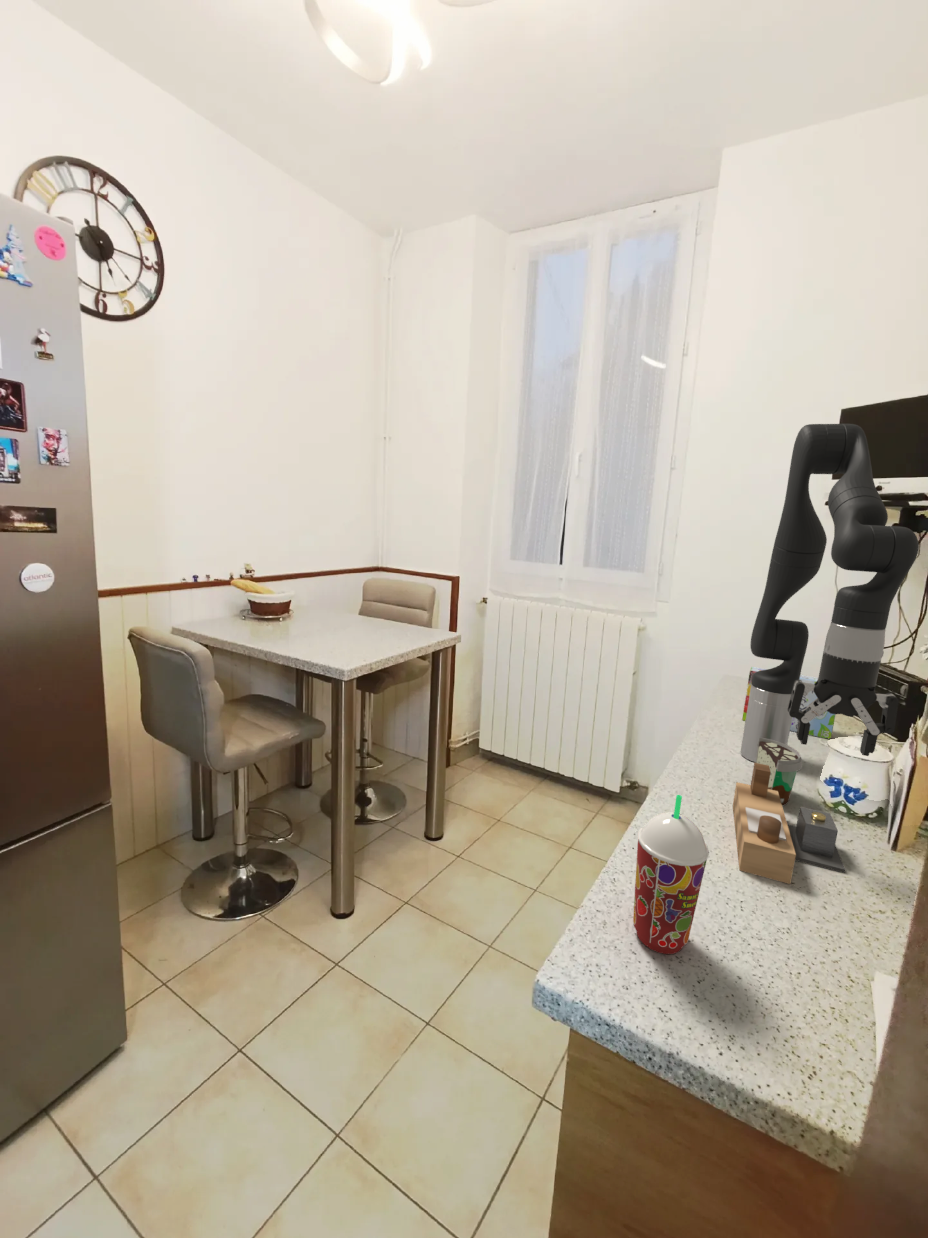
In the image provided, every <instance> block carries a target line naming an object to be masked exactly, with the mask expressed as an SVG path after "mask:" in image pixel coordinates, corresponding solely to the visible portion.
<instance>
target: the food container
mask: <svg viewBox="0 0 928 1238" xmlns="http://www.w3.org/2000/svg"><path fill="white" fill-rule="evenodd" d="M757 746H758V750H757V758H756V762H755V763H759V764H764V765H769V768H770V771H771V773H770V779H769V785H768V789H771V790H775V791H778V793H779V797H780V800H781V804H782V807H784V806H786V805H787V804H788V803H789V801H790V797H791V793H792V790H793V786H794V784H795V779H796V776H797V772H798V771H801V770H802V768H803V760H802V757H801V756H802V755H801V754H800V752H799V751H798V750H797V749H795V748H794V747H792V746H790V745H788V744H787V745H786V744H783V743H781V742H778V741H774V740H770V739H765V738H759V740H758V743H757Z"/></svg>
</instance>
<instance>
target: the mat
mask: <svg viewBox="0 0 928 1238" xmlns="http://www.w3.org/2000/svg"><path fill="white" fill-rule="evenodd" d="M787 825H788V829H789V832H790V836H791V839H792V843H793V846H794V850H795V853H796V857H795V861H796V862H800V863H805V864H808V865H813V866H816V867H818V868H819V867H820V868H822V869H823V868H824V869H827V870H831V871H836V872H838V873H843V874H845V873H846V867H845V865H844V863H843V860H842V858H841V855H840V853H839V851H838V849H837V848H838V847H837V846H836V845H835V848H834V852H833V857H832V858H828V857H824V856H820V855H816V854H812V853H808V852H804V851H801V850H800V847H799V844H798V840H797V837H796V834H795V830H796V825H793V824H790V823H789V824H788V823H787Z"/></svg>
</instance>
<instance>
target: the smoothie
mask: <svg viewBox="0 0 928 1238" xmlns="http://www.w3.org/2000/svg"><path fill="white" fill-rule="evenodd" d="M682 798H683V795H680V794H676V797H675V804H674V811H666V812H660V813H658V814H655V815H654V816H652V817H650V818H649V819H648V820H647V821H646V822H645V824H644V826H642V827H640V828H639V830H638V832H637V850H636V864H635V865H636V868H635V885H634V901H633V918H632V922H633V926H634V929H635V931H636V936H637V937H638V939H639V941H640V942H641V943H642V944H643V945H645V947H647V948H648V949H650V950H652V951H654V952H657V953H659V954H662V955H663V954H664V955H673V954H676V953H677V954H678V953H679V952H680V951H681V950H682V949H683V948H684V946H686V945H687V943H688V942H689V938H690V933H691V930H692V925H693V921H694V917H695V913H696V908H697V904H698V899H699V896H700V891H701V886H702V883H703V879H704V874H705V868H706V865H707V861H708V857H709V855H710V850H709V847H708V845H707V844H706V842H705V838H704V835H703V833H702V832H701V830H700V828H699V827H698V825H696V824H695V822H694V821H692V820H691V819H690V818H689V817H687V816H686V815H682V814H680V813H681V806H682V805H681V804H682Z"/></svg>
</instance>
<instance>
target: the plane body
mask: <svg viewBox="0 0 928 1238" xmlns="http://www.w3.org/2000/svg"><path fill="white" fill-rule="evenodd" d="M753 763H754V764H753V767H752V768H753V770H752V776H751V781H750V784H747V783H742V782H737V781H736V783H735V788H734V794H733V800H732V801H733V802H732V813H733V821H734V831H735V832H734V834H735V840H736V841H735V842H736V851H737V859H738V862H737V863H738V869H739V871H741V872H745V873H746V874H751V875H756V876H759V877H762V878H766V879H770V880H774V881H777V882H780V883H785V884H788V885H791V882H792V878H793V872H794V866H795V861H796V860H795V857H796V853H795V850H794V846H793V843H792V839H791V836H790V832H789V829H788V825H787V824H788V822H787V818H786V816H785V811H784V808H783V807H784V806H782V804H781V800H780V797H779V793H778V791H775V790H771V789H768V785H769V779H770V773H771V771H770V768H769V765H764V764H759V763H756V762H753Z"/></svg>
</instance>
